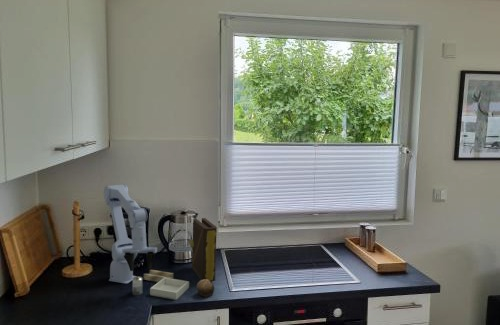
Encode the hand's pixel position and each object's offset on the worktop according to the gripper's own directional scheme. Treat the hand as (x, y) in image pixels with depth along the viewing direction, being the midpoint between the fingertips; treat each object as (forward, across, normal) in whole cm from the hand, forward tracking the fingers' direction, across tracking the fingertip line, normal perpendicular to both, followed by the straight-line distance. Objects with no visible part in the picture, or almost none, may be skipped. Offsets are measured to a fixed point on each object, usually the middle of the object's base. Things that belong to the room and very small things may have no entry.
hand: (140, 270), depth 157 cm
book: (+9, +19, +28) cm, 35 cm away
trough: (+8, +1, +16) cm, 18 cm away
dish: (+11, +10, +5) cm, 16 cm away
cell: (+10, -2, +1) cm, 10 cm away
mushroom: (+13, +26, +6) cm, 29 cm away
